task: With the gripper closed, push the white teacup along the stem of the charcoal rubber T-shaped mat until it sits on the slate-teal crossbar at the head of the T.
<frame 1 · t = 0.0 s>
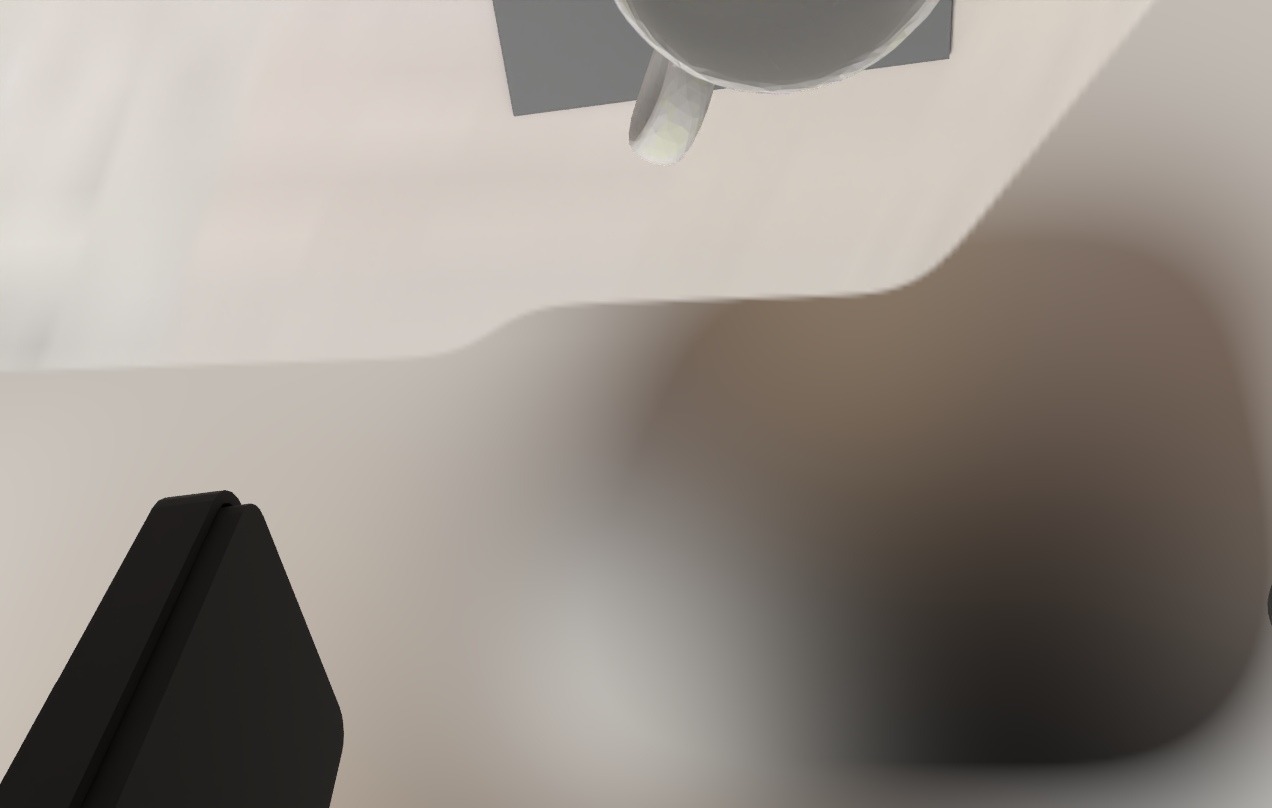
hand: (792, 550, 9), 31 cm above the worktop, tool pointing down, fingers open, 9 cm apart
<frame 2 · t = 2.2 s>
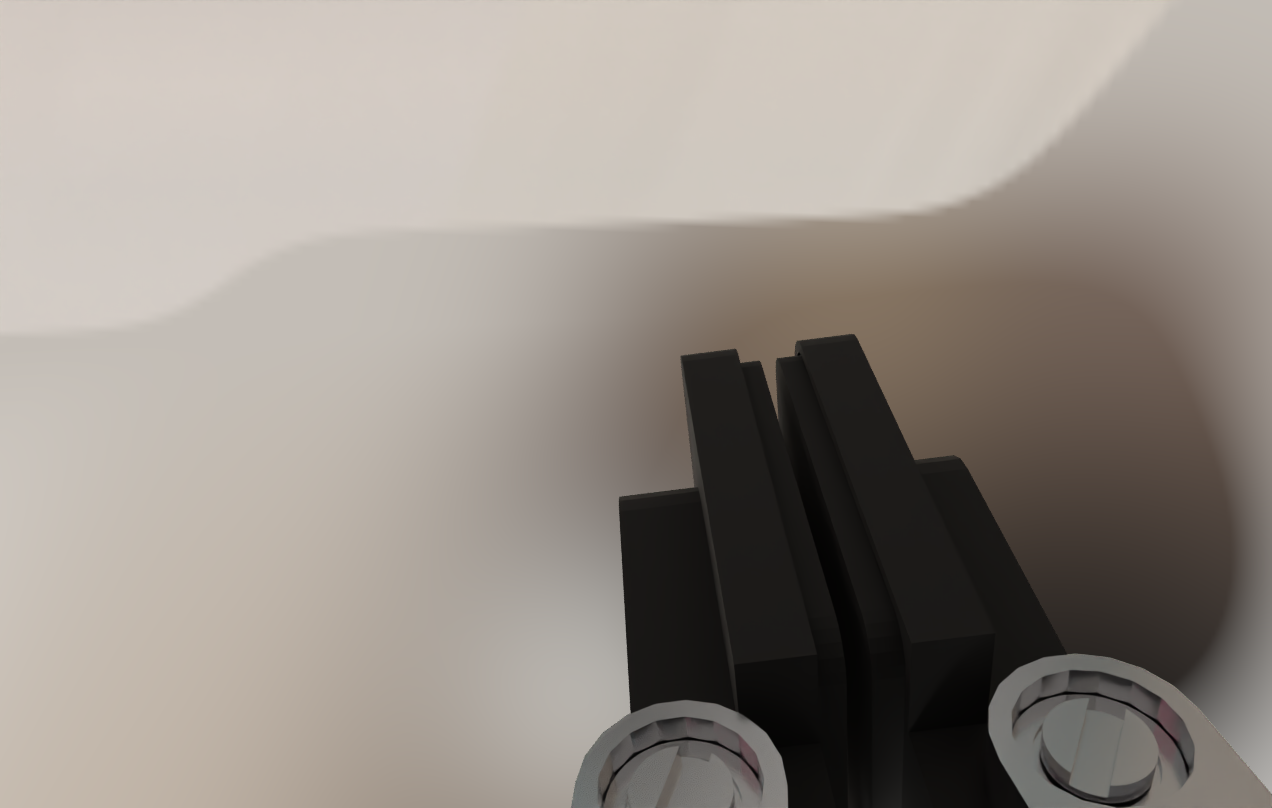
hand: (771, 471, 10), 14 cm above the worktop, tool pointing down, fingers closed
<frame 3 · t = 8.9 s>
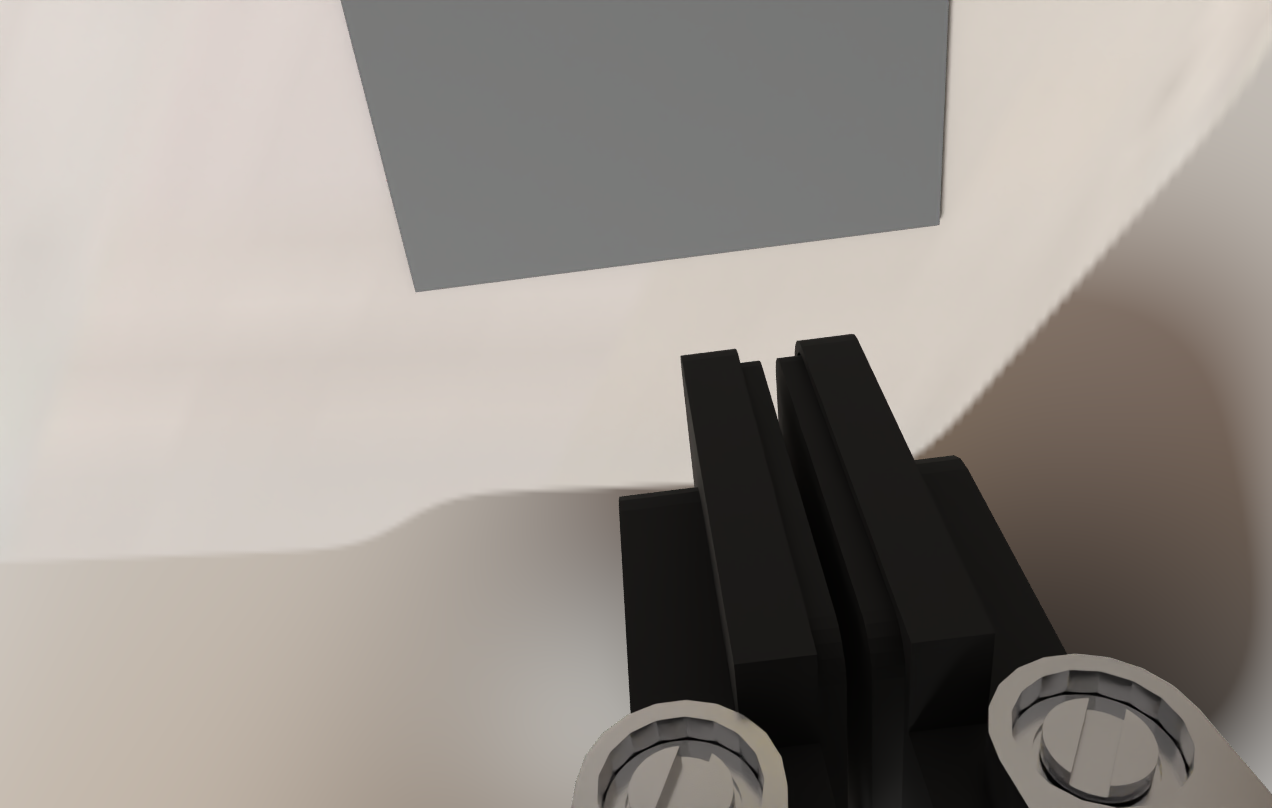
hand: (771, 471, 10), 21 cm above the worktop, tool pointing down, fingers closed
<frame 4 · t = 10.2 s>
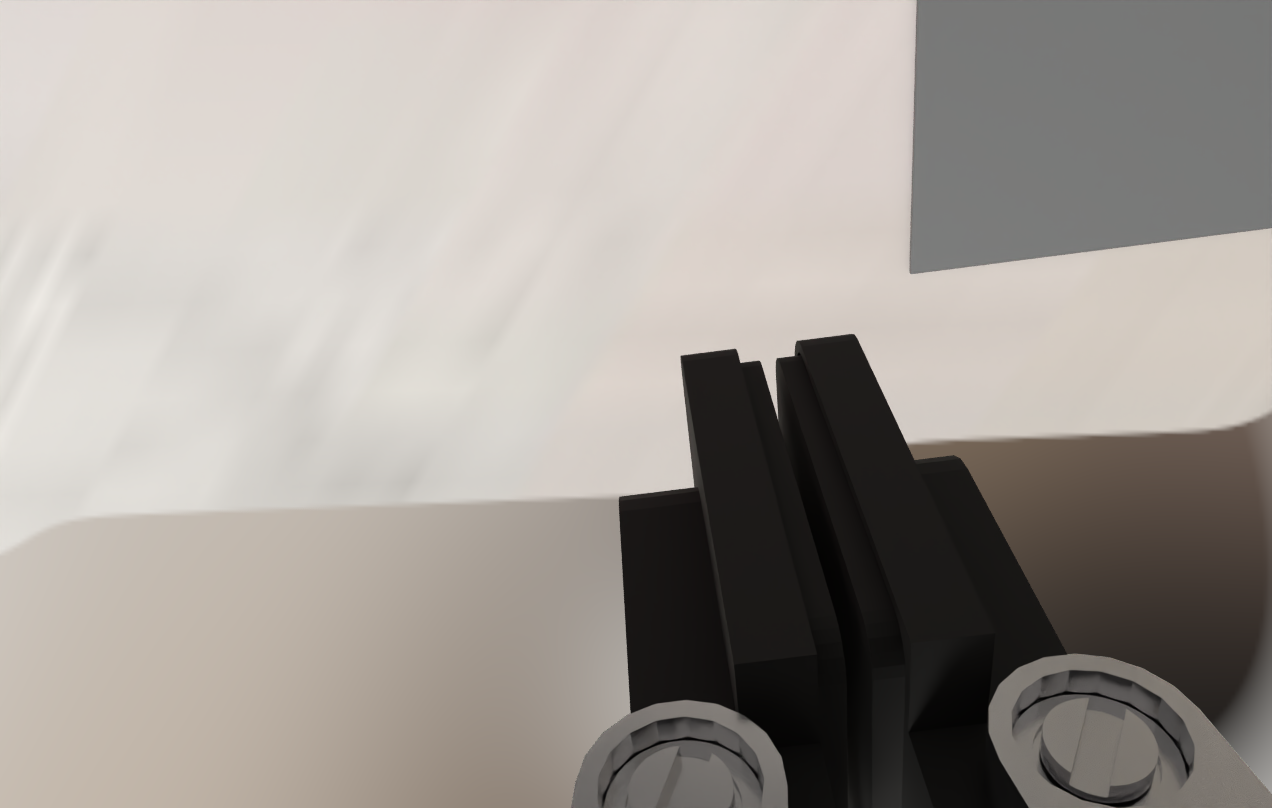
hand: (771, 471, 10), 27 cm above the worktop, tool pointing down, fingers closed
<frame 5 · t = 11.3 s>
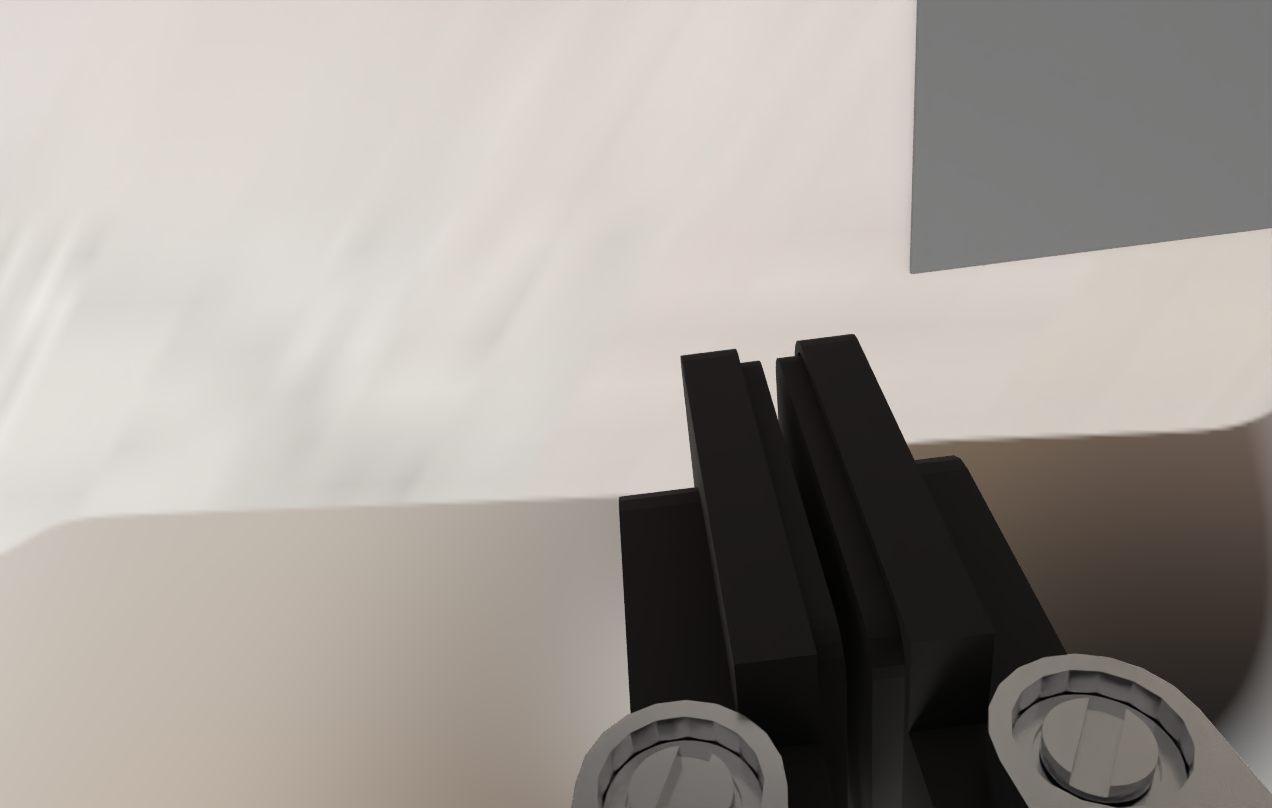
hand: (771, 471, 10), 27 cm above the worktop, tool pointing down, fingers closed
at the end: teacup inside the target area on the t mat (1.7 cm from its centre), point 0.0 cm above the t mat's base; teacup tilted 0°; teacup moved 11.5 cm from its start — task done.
